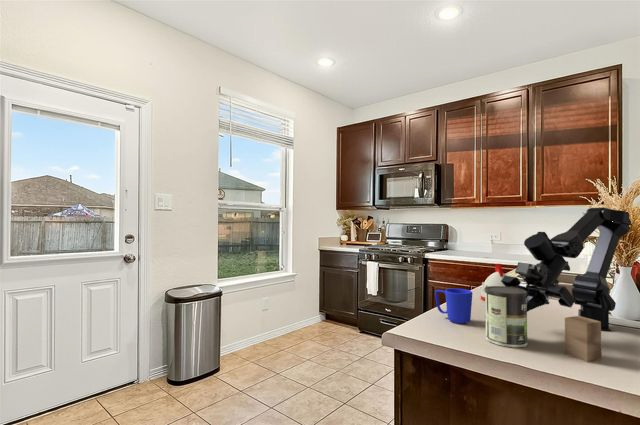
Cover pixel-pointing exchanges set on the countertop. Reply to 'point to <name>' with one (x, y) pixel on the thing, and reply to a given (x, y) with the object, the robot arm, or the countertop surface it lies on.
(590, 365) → the countertop surface
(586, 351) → the walnut block
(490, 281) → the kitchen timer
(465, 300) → the mug
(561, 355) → the countertop surface
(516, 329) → the coffee can
